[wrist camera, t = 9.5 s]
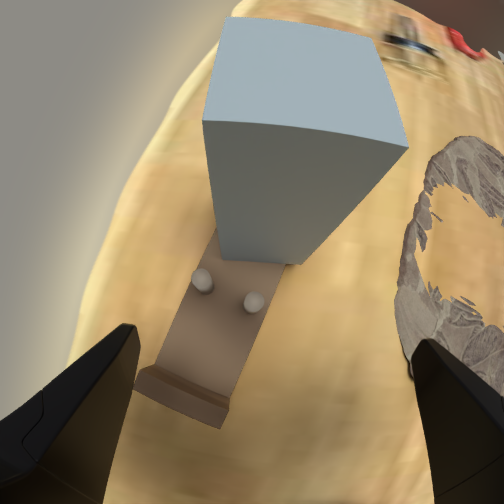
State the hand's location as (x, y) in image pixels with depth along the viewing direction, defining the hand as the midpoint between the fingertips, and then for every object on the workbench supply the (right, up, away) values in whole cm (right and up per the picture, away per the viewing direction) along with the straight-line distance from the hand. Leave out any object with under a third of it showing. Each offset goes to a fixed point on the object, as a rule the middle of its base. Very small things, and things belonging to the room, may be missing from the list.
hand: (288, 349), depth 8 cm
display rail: (-1, +4, +13) cm, 13 cm away
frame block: (0, +5, +11) cm, 12 cm away
